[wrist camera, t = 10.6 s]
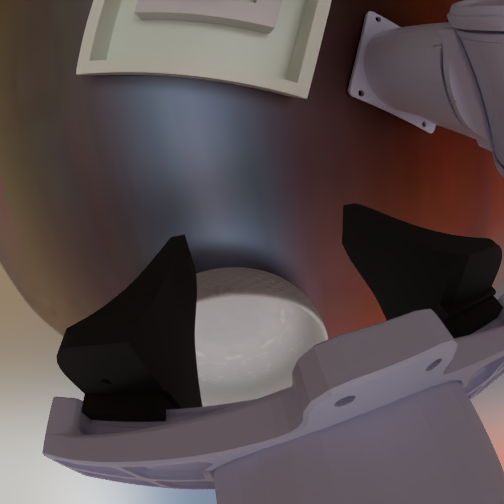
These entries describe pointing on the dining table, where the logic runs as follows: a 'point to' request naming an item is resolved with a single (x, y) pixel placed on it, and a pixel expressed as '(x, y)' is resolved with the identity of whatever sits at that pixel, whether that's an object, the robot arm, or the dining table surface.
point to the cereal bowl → (250, 333)
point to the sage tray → (208, 41)
